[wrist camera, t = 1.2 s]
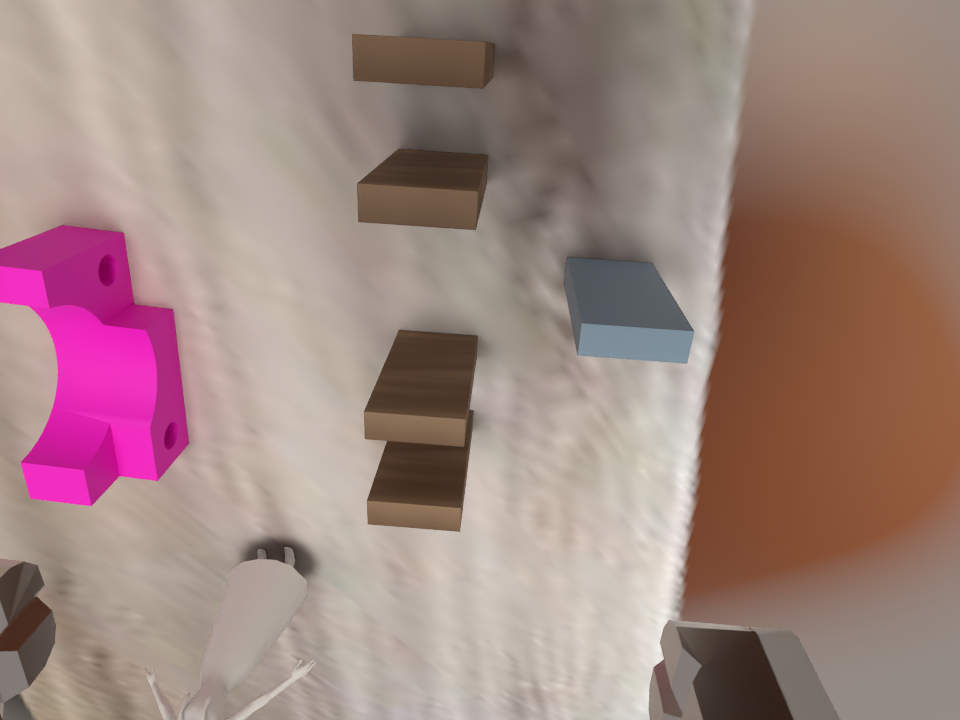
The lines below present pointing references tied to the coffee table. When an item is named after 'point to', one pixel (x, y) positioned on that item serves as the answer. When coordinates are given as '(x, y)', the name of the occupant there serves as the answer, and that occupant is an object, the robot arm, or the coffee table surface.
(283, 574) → the woman figurine
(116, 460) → the toy block
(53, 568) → the coffee table surface
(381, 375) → the domino
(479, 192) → the domino
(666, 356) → the domino
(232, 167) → the coffee table surface
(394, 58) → the domino
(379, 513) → the domino
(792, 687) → the robot arm
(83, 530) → the coffee table surface
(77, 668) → the coffee table surface
